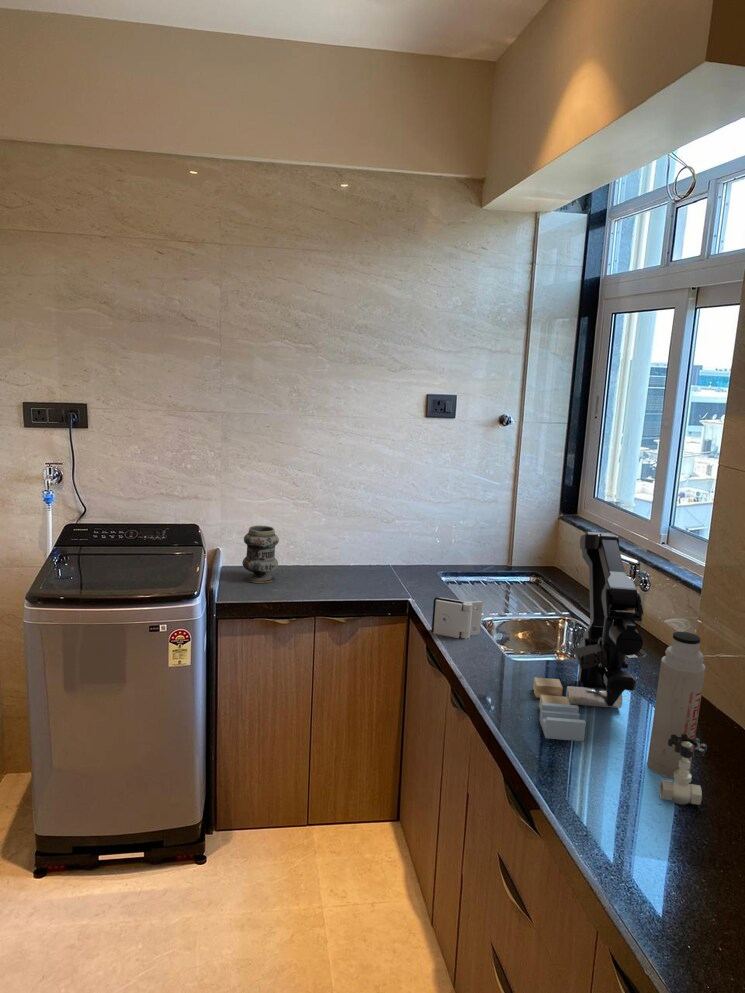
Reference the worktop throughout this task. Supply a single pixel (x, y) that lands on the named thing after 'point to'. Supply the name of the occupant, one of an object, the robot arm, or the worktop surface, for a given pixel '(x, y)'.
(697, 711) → the thermos bottle
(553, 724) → the v block
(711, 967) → the worktop surface
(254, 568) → the apothecary jar
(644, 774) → the worktop surface
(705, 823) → the worktop surface
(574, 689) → the light grey bar
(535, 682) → the beam
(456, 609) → the hinge
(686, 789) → the valve
